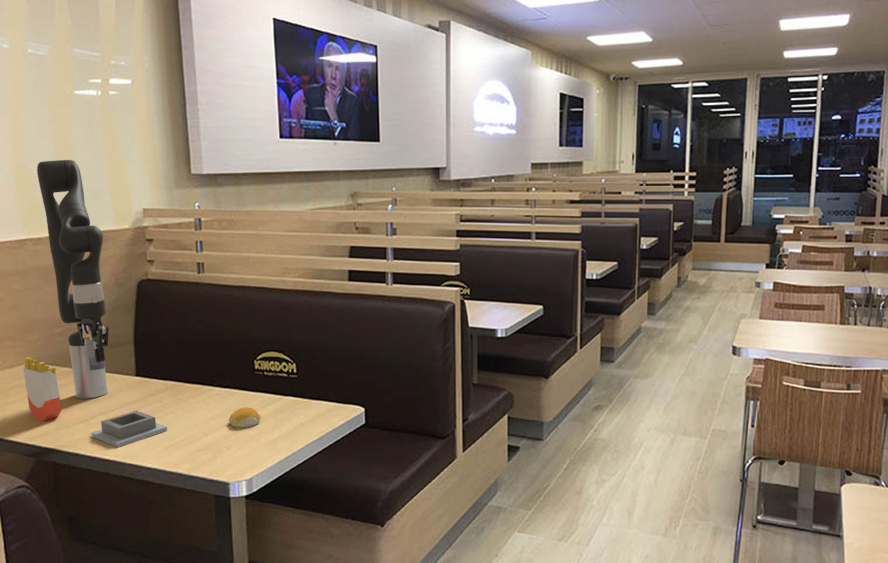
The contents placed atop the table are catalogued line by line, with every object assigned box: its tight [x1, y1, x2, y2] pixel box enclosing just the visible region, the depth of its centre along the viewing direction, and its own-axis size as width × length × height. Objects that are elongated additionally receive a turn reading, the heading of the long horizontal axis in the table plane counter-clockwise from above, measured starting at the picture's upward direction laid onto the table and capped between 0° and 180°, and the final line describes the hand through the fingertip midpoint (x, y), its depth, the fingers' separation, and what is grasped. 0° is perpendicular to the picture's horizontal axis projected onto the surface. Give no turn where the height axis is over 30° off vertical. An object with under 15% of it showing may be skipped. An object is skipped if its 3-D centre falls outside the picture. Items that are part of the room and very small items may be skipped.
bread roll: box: [228, 407, 261, 429], centre depth 200 cm, size 8×9×4 cm
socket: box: [91, 410, 168, 448], centre depth 195 cm, size 14×14×4 cm
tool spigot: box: [85, 333, 106, 370], centre depth 199 cm, size 4×4×10 cm
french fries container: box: [23, 356, 62, 422], centre depth 211 cm, size 5×11×18 cm, turn 54°
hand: (96, 360), depth 199 cm, fingers closed on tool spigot, 4 cm apart
